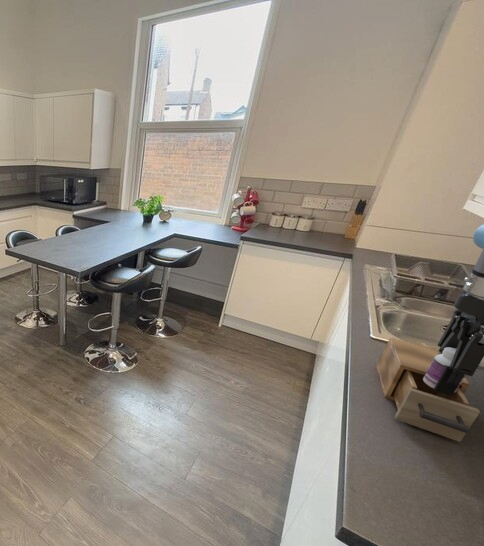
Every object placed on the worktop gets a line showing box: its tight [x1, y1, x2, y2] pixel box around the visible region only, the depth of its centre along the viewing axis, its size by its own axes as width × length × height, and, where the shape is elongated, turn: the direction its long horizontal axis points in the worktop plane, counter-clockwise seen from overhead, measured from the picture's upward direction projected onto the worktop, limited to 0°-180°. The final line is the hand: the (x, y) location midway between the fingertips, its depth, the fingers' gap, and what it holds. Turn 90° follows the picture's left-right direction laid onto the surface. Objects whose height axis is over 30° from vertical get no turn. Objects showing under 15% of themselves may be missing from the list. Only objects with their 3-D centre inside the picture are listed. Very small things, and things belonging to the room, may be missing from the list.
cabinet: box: [375, 337, 471, 402], centre depth 84 cm, size 16×12×11 cm
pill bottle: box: [423, 347, 467, 392], centre depth 71 cm, size 5×5×10 cm
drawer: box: [392, 369, 481, 443], centre depth 75 cm, size 19×11×9 cm, turn 144°
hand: (438, 384), depth 73 cm, fingers closed on pill bottle, 5 cm apart
